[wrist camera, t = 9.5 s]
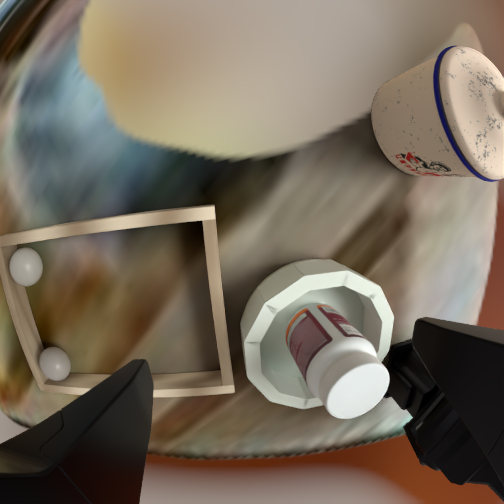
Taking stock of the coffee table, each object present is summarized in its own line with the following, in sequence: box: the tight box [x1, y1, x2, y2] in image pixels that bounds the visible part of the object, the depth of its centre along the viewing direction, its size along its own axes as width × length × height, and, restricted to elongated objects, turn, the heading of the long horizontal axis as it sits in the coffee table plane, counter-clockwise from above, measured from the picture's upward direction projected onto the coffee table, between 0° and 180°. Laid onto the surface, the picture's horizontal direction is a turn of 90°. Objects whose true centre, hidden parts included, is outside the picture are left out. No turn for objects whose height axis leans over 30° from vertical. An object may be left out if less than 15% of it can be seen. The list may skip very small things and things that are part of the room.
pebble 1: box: [9, 247, 43, 286], centre depth 18 cm, size 3×3×3 cm
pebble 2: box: [39, 347, 71, 381], centre depth 19 cm, size 3×3×3 cm
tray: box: [0, 204, 235, 397], centre depth 20 cm, size 18×14×2 cm
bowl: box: [240, 259, 394, 409], centre depth 21 cm, size 11×11×4 cm
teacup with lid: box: [371, 46, 504, 182], centre depth 15 cm, size 12×9×12 cm
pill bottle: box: [285, 303, 389, 419], centre depth 18 cm, size 5×5×8 cm
